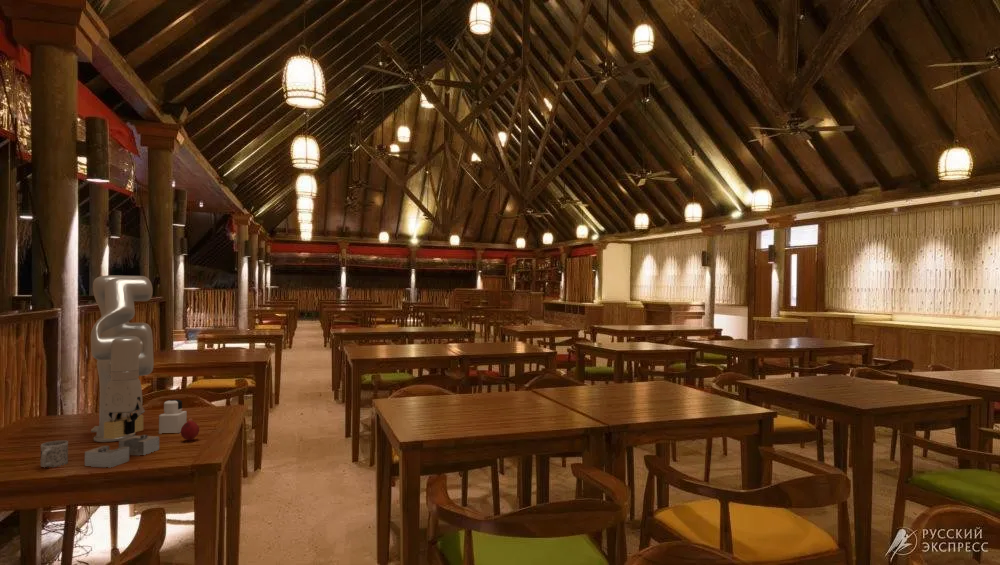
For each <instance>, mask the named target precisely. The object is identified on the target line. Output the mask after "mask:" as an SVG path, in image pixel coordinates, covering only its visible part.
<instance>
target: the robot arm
mask: <svg viewBox="0 0 1000 565" xmlns="http://www.w3.org/2000/svg"><path fill="white" fill-rule="evenodd" d="M92 291H93V296H94V300H95V301H96V304H97V306H98V308H99V312H100V315H101V316H100V318H99V319H97V320H96V322H95V323H94V325H93V326H92V329H91V332H90V352H91V356H92V357H93V359H95V360H97V361H96V368H97V369H96V370H97V375H98V382H99V385H98V386H99V414H98V415H99V420H98V421H99V423H98V425H94V427H93V428H91V430H90V433H96V435H95V436H94V437H93V441H94V442H98V443H111V442H119V441H120V440H123V439H126V438H129V437H132V436H136V432H135V420H137V418H138V417H139V416H140V415H143V414H144V413H145V412H146V411H145V408H144V406H143V390H142V384H141V383H142V382H141V379H139V376H141V377H143V376H149V375H150V374H152V373H153V370H154V363H155V362H154V359H155V358H154V338H153V331H152V328H151V326H150V325H149V324H148V323H146V322H130V321H131V320H132V319H133V318H134V317H135V315H136V310H135V302H148V301H150V300H151V299H152V297H153V293H154V292H153V291H154V289H153V284H152V282H151V280H150V278H148V277H147V276H145V275H122V274H121V275H119V274H118V275H114V274H113V275H111V274H109V275H101V276H98V277H96V278H94V280H93V283H92ZM131 415H132V416H131ZM123 417H127V421H128V422H126V435H125V436H121V437H118V438H115V439H107V438H104V422H107V421H110V419H119V418H123ZM134 432H135V433H134Z"/></svg>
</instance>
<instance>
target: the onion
mask: <svg viewBox="0 0 1000 565" xmlns="http://www.w3.org/2000/svg"><path fill="white" fill-rule="evenodd" d="M193 420H194V419H193V418H189V419H187V422H186V423H185V424H184V425H183V426H182V428H181V432H180V435H181V437H182V438H183V439H184V440H186V441H188V442H191V441H193V440H194V439H195V438H196V437H197V436H198V435H199V433H200V426H199V425H198V424H197V422H195V421H193Z"/></svg>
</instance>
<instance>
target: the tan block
mask: <svg viewBox="0 0 1000 565" xmlns="http://www.w3.org/2000/svg"><path fill="white" fill-rule="evenodd" d="M131 416H132V414H131ZM126 422H128V421H127V417H123V418H119V419H110V421H107V422H104V438H107V439H115V438H118V437H121V436H125V435H126ZM141 431H144V414H141V415H140V416H139V417H138V418H137V420H135V432H134V433H135V434H136V433H137V432H141Z"/></svg>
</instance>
